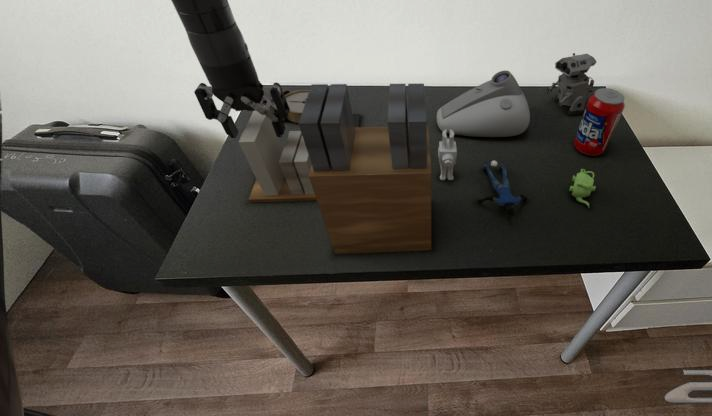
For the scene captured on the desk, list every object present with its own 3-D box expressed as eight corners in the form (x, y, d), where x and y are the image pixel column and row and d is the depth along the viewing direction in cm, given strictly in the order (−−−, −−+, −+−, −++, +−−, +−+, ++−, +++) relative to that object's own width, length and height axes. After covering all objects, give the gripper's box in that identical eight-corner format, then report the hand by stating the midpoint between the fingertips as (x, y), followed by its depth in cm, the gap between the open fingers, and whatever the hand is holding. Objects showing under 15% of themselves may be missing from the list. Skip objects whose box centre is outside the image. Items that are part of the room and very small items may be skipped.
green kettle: (588, 208, 79) (597, 189, 74) (564, 200, 80) (571, 181, 76) (593, 190, 83) (601, 171, 78) (569, 183, 84) (576, 164, 80)
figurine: (537, 101, 107) (549, 50, 96) (573, 97, 109) (589, 47, 98) (550, 119, 101) (565, 67, 90) (588, 114, 103) (606, 63, 92)
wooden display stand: (318, 200, 77) (306, 164, 70) (249, 202, 76) (230, 166, 69) (326, 163, 85) (316, 127, 78) (264, 164, 84) (248, 128, 77)
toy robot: (453, 164, 87) (456, 121, 78) (455, 186, 82) (458, 144, 73) (437, 164, 87) (438, 121, 78) (438, 187, 81) (439, 144, 73)
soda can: (610, 154, 91) (635, 101, 80) (585, 161, 89) (606, 107, 78) (591, 136, 96) (612, 83, 85) (566, 142, 94) (584, 89, 83)
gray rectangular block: (278, 195, 77) (254, 141, 66) (264, 195, 76) (238, 141, 66) (288, 163, 83) (268, 110, 73) (275, 164, 83) (253, 110, 73)
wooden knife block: (431, 250, 70) (431, 125, 49) (335, 254, 68) (291, 128, 47) (428, 204, 78) (427, 79, 57) (342, 207, 76) (308, 80, 55)
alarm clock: (323, 114, 93) (260, 106, 90) (324, 130, 97) (263, 123, 94) (329, 91, 101) (270, 83, 98) (329, 106, 104) (272, 99, 101)
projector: (472, 92, 109) (477, 43, 98) (542, 120, 100) (555, 70, 89) (426, 127, 96) (425, 75, 85) (501, 162, 88) (511, 109, 77)
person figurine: (469, 176, 87) (483, 227, 73) (470, 159, 84) (484, 210, 70) (514, 173, 88) (536, 224, 74) (517, 157, 85) (540, 206, 71)
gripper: (166, 64, 56) (213, 148, 68) (262, 64, 57) (291, 146, 69) (185, 43, 61) (226, 124, 73) (274, 43, 62) (299, 123, 74)
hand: (258, 135), depth 71 cm, fingers open, 8 cm apart
